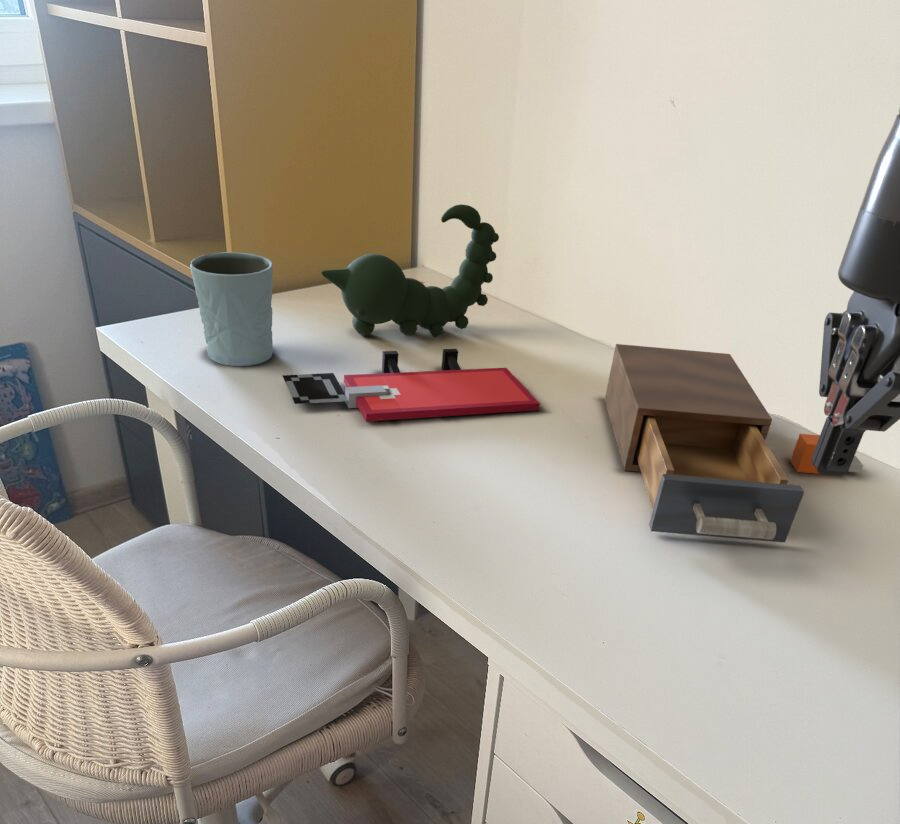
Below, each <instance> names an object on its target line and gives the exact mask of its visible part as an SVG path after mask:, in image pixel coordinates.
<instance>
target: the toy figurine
mask: <svg viewBox="0 0 900 824" xmlns="http://www.w3.org/2000/svg"><path fill="white" fill-rule="evenodd" d="M450 220H458V221H460V222H461V223H463V224H464V226H466V227H467V228H468V229H471V230H472V231H471V235H470V237H471V240H470V241H469V242H468V243H467V244H466V247H465V259H463V260H462V261H461V263H460V265H459V270H458V275H456V276H455V277H454V278H453V280H452V282H451V284H450V285H448V286H444V287H442V288H441V287H438V286H435V285H428V286H426V285H425V284H423V282H422V281H420V280H418V279H415V278H413V277H406V274H405V273H404V271H403V270H402V268H401V267H400V266H399V264H398V263H397V262H396V261H395V260H392V259H391V258H390V257H388V256H386V255H383V254H381V253H366V254H363V255H361V256H359V257H357V258H355V259H354V260H352V261H351V262H350V263H349V264H348V266H347V267H344V268H334V269H324V270H322V271H321V272H320V273H321V276H322V277H324V278H325V279H326V280H328V281H329V282H330V283H332V284H333V285H334V286H336V287H337V288H338V289H339V290H340V292H341V297H342V301H343V303H344V306H345V307H346V309H347V310H348V312H349V313H350V314H351V315H352V316H353V317H352V319H351V322H352V323H351V324H352V327H353V329H354V330H355V331H356V332H357V334H359V335H361V336H369V335H370V334H372V333H373V332H374V329H375V327H376V325H381V324H386V323H388V322H391V321H392V322H393V323H394V324H396V325H398V326H399V331H400V332H401V333H402V334H403V335H405V336H406V337H409V336H414V334H415V333H416V332H417V331H418V326H419V327H420V328H422V329H425V330H428V331H429V333H430V335H431V337H435V338H439V337H440V336H442V335H443V331H444V328H443V327H445V325H447V324H448V323H454V325H455V327H457V329H460V330H463V329H466V328H467V327H468V325H469V318H468V316H466V313H467V311H468V308H469V307H471V306H473V305H474V304H477V306H480V307H485V306H486V305H487V304H488V300H489V298H488V296H487V294H485V293H482V285H484V283H485V284H491V282H493V278H494V276H493V274H492V273H491V272H489V269H488V266H487V265H488V264H490V263H492V262H494V261H496V259H497V253H496V252H495V251H493V245H494V243H496V242H498V241H499V239H500V236H499V234H498V233H497V232H496V230H495V228H494V227H493V225H491V223H489V222H486V221H485V222H484V221H482V218H481V215H480V213H479V211H478V210H477V209H476V208H475V207H473V206H471V205H468V204H456V205H453V206H451V207H449V208H448V209H446V210H445V211H444V213H443V214H442V216H441V217H440V221H441V223H446V222H448V221H450ZM481 221H482V222H481Z"/></svg>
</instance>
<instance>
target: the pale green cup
mask: <svg viewBox="0 0 900 824" xmlns="http://www.w3.org/2000/svg"><path fill="white" fill-rule="evenodd" d="M273 266H274V265H273V262H272V261H271V260H270V259H268V257H265V256H262V255H260V254H259V255H258V254H255V253H249V252H237V251H236V252H235V251H226V252H224V251H223V252H213V253H208V254H203V255H200V256H197V257H195V258H193V259H192V260H191V261H190V264H189V268H190V273H191V276H192V281H193V286H194V290H195V296H196V299H197V301H198V302H197V305H198V306H199V316H200V320H201V323H202V324H203V335H204V340H205V343H206V350H207V354H208V357H209V359H210V360H211V361H213V362H215V363H218V364H221V365H224V366H229V367H230V366H232V367H250V366H256V365H259V364H263V363H265V362H267V361H269V360H270V359H271V358H272V356H273V344H274V343H273V331H272V326H273V307H272V300H273V274H274V273H273V272H274V271H273V269H274V268H273Z"/></svg>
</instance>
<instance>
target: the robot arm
mask: <svg viewBox="0 0 900 824" xmlns="http://www.w3.org/2000/svg"><path fill="white" fill-rule="evenodd" d="M845 247H846V248H845V249H844V253H843V255H842V259H841V262H840V264H839V267H838V271H837V276H838V277H837V278H838V279H839V281H840V283H841V284H842V285H843V286H845V287H846V288H847V289H849V290H850V291H853V292H852V294H851V295H850V297H849V299H848V301H847V306H846V310H845V311H843V312H828V313H827V314H826V315H825V319H824V321H823V332H822V333H823V336H822V347H821V359H820V360H821V361H820V375H819V387H818V393H819V397H821V398H826V400H825V402H824V407H823V412H824V415H825V416H827V417H826V418H825V420H824V424H823V425H822V429H821V432H820V434H819V435H820V437H819V439H818V442H817V445H816V447H815V450H814V453H813V455H812V458H811V462H812V464H813V465H814V467H815V468H816V470H817V471H818V473H819V474H818V475H824V476H834V477H842V476H845V475H846V474H848V470H849V468H850V465H851V463H852V461H853V458H854V456H856V453H857V451H858V448H859V446H860V443H861V442H862V438H863V437H864V433H866V431H871V432H882V433H884V432H886V431H887V430H889V429H890V428H891V427H893V426H894V425H895V424H896V423H897V422H898V421H900V107H899V108H898V114H897V115H896V117H895V118H894V121H893V124H892V126H891V129H890V131H889V133H888V135H887V136H886V139H885V141H884V143H883V145H882V147H881V149H880V151H879V153H878V155H877V159H876V161H875V164H874V166H873V169H872V172H871V175H870V178H869V180H868V184H867V186H866V189H865V192H864V195H863V198H862V201H861V204H860V206H859V210H858V212H857V215H856V218H855V222H854V224H853V227H852V230H851V233H850V235H849V238H848V242H847V244H846V246H845Z"/></svg>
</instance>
